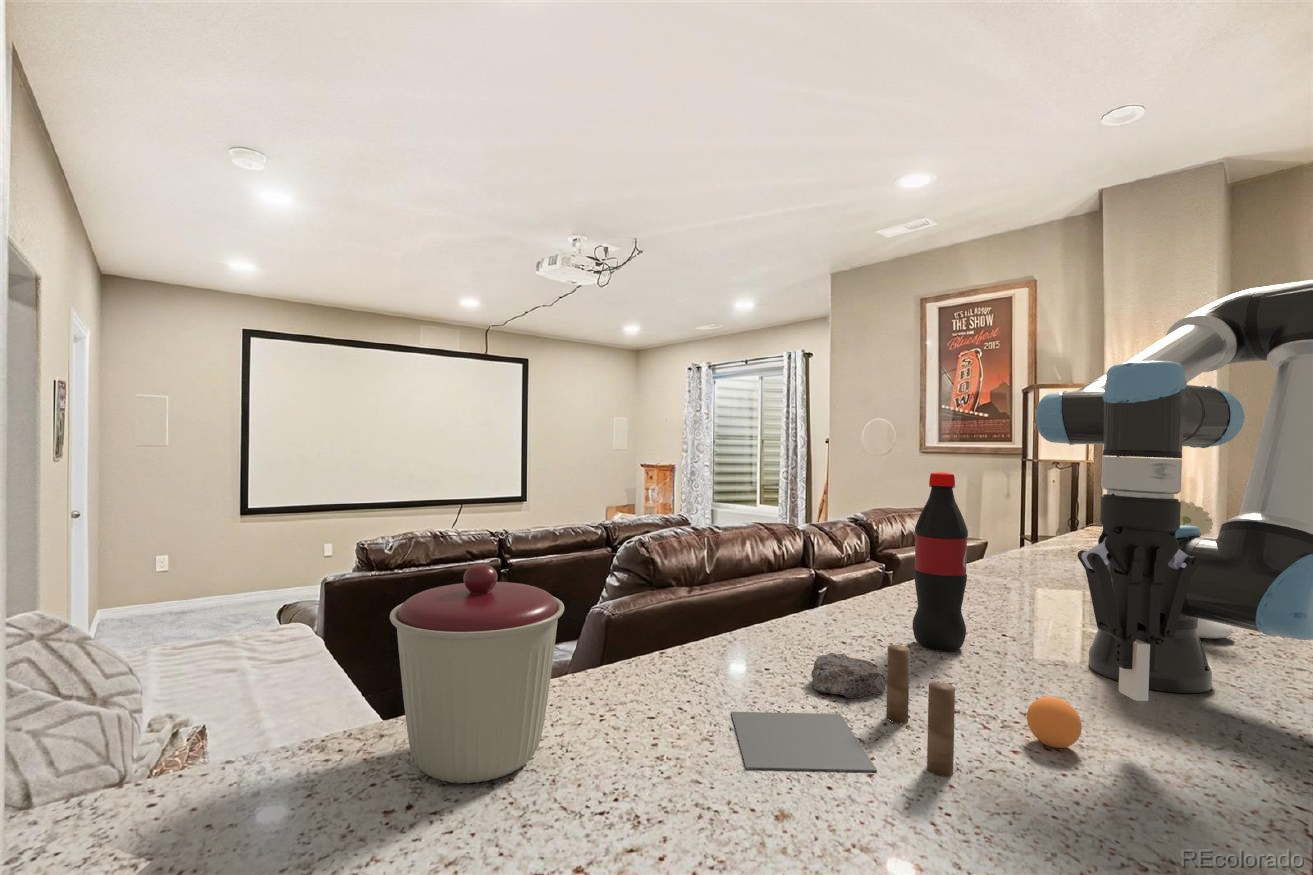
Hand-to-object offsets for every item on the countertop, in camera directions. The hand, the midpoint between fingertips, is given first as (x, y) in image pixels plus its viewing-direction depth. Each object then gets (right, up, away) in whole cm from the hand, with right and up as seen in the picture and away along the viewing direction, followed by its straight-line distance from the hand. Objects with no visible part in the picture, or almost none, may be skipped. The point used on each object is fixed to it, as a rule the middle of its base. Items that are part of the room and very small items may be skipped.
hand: (1133, 695), depth 76 cm
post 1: (-25, -6, +7) cm, 27 cm away
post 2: (-25, -6, -6) cm, 27 cm away
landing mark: (-39, -5, 0) cm, 40 cm away
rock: (-28, -6, +17) cm, 34 cm away
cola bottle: (-7, -6, +36) cm, 37 cm away
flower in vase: (+45, -7, +47) cm, 65 cm away
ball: (-9, -3, 0) cm, 10 cm away
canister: (-75, -5, -6) cm, 76 cm away
